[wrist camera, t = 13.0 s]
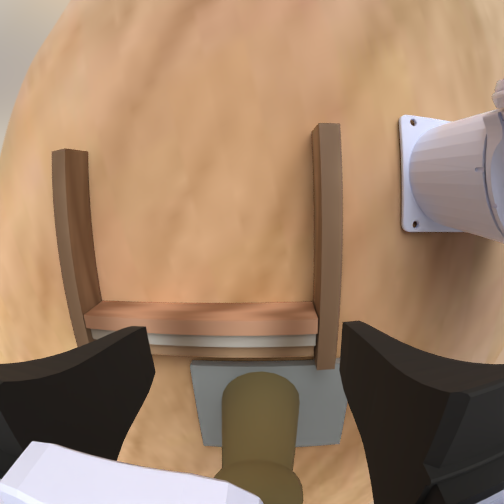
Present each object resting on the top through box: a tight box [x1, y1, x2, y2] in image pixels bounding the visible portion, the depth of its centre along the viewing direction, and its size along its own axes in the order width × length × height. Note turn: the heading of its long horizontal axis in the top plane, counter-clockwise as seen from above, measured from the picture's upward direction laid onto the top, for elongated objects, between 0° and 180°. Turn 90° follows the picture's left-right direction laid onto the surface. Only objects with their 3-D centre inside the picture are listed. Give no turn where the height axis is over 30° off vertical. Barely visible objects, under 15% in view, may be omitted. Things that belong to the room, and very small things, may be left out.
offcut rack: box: [52, 123, 343, 370], centre depth 19 cm, size 18×15×3 cm
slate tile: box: [190, 358, 347, 447], centre depth 23 cm, size 12×9×1 cm
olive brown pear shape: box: [214, 371, 303, 504], centre depth 17 cm, size 6×6×11 cm
